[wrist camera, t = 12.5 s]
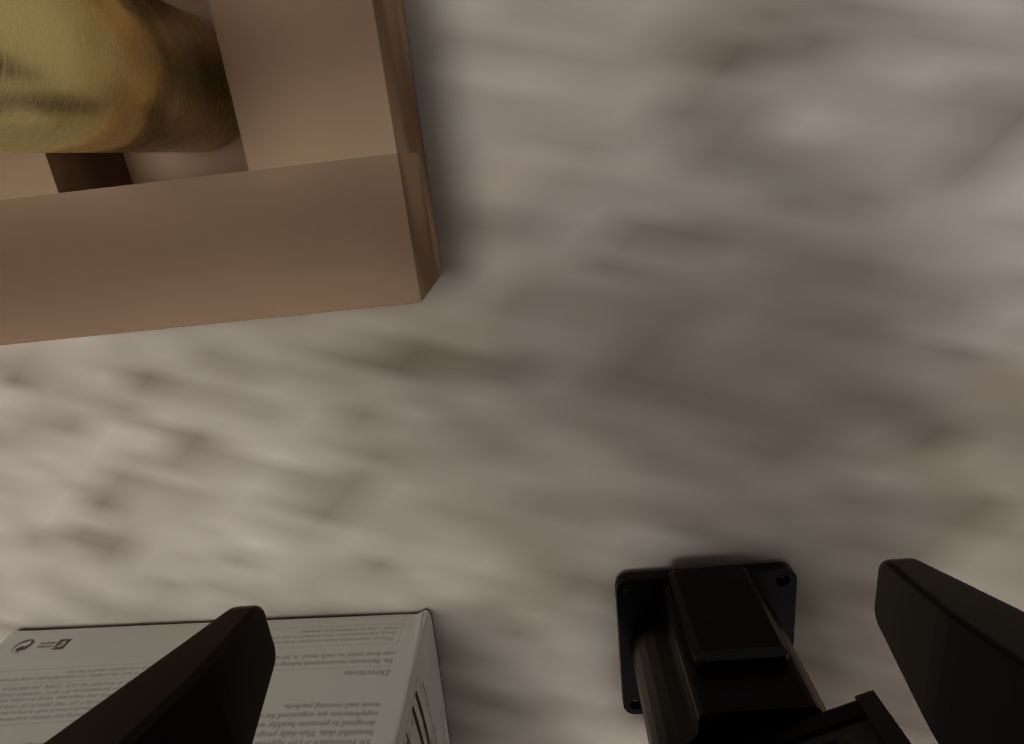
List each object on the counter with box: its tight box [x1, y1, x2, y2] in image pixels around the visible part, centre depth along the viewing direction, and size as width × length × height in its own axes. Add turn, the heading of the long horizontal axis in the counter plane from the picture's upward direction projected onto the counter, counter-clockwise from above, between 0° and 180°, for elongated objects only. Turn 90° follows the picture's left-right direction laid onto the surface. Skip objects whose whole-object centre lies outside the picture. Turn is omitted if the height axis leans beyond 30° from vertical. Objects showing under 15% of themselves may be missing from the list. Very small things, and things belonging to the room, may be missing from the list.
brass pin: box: [0, 0, 240, 153], centre depth 13 cm, size 4×4×9 cm
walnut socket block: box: [0, 0, 442, 345], centre depth 16 cm, size 12×12×4 cm
